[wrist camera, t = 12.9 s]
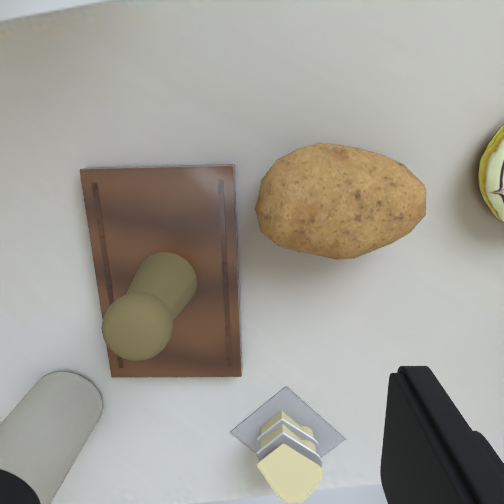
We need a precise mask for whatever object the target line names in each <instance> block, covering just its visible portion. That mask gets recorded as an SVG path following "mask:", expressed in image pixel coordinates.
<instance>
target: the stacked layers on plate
mask: <svg viewBox="0 0 504 504" xmlns="http://www.w3.org/2000/svg"><path fill="white" fill-rule="evenodd" d="M230 433H232V434H233V435H234V436H235V437H237V438H238V439H239V440H240V441H241V442H243V443H244V444H245V445H246V446H248V447H249V448H250V449H251V450H252V451H254V452H255V453H256V454H257V456H258V458H259V459H260V462H259V463H257V467H258V468H259V470H260V471H261V473H262V474H263V476H264V477H265V479H266V480H267V482H268V483H269V485H270V486H271V487H272V489H273V490H274V492H275V493H276V495H277V496H278V497H279V498H281V499H282V500H283V501H284V502H286V503H298V502H303V501H305V500H306V499H307V498H308V496H309V495H310V494H311V493H312V491H313V490H314V489H315V488H316V486H317V485H318V484H319V483H320V482H321V480H322V479H323V475H324V473H323V470H322V468H321V466H322V462H321V457H323V456H324V455H325V454H327V453H328V452H330V451H331V450H332V449H334V448H335V447H336V446H338V445H339V444H340V443H342V442H343V441H344V440H346V439H345V438H344V437H342V436H341V435H340V434H339V433H338V432H337V431H336V430H335V429H333V428H332V427H331V426H330V425H329V424H328V423H327V422H325V421H324V420H323V419H322V418H321V417H320V416H319V415H318V414H316V413H315V412H314V411H313V410H312V409H311V408H310V407H308V406H307V405H306V404H305V403H304V402H303V401H302V400H301V399H299V398H298V397H297V396H296V395H295V394H294V393H293V392H291V391H290V390H289V389H288V388H287V387H285V388H284V389H282V390H281V391H280V392H279V393H278V394H276V395H275V396H274V397H273V398H271V399H270V400H269V401H268V402H267V403H265V404H264V405H263V406H262V407H260V408H259V409H258V410H257V411H256V412H254V413H253V414H252V415H251V416H249V417H248V418H247V419H246V420H245V421H243V422H242V423H241V424H240V425H238V426H237V427H236V428H235V429H234V430H232V431H231V432H230Z"/></svg>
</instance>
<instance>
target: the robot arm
mask: <svg viewBox="0 0 504 504" xmlns="http://www.w3.org/2000/svg"><path fill="white" fill-rule="evenodd" d="M380 472H381V482H382V486H383V490H384V493H385V496H386V499H387V502H388V504H504V463H503V462H502V461H501V459H500V458H499V456H498V455H497V454H496V452H495V451H494V449H493V448H492V446H491V445H490V444H489V442H488V441H487V440H486V438H485V437H484V436H483V435H482V434H481V433H479V432H477V431H472V429H471V428H470V427H469V425H468V424H467V422H466V421H465V419H464V418H463V416H462V415H461V413H460V412H459V410H458V409H457V408H456V406H455V405H454V403H453V402H452V400H451V399H450V397H449V396H448V394H447V393H446V391H445V390H444V389H443V387H442V386H441V384H440V383H439V381H438V380H437V378H436V377H435V375H434V374H433V372H432V371H431V370H430V368H429V367H427V366H400V367H399V369H398V372H397V373H391V374H390V377H389V385H388V396H387V406H386V417H385V427H384V437H383V448H382V458H381V470H380Z"/></svg>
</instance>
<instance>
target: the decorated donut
mask: <svg viewBox="0 0 504 504" xmlns="http://www.w3.org/2000/svg"><path fill="white" fill-rule="evenodd" d="M478 183H479V187H480V191H481V194H482V197H483V199H484V200H485V202H486V203H487V205H488V207H489V208H490V210H491V211H492V213H493V214H494V215H495V217H496V218H498V219H499V220H501V221H502V222H504V125H503V126H502V127H501V128H500V129H499V131H498V132H497V133H496V135H495V136H494V137H493V139H492V140H491V142H490V143H489V144H488V146H487V148H486V150H485V152H484V154H483V156H482V157H481V160H480V165H479V173H478Z"/></svg>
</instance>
